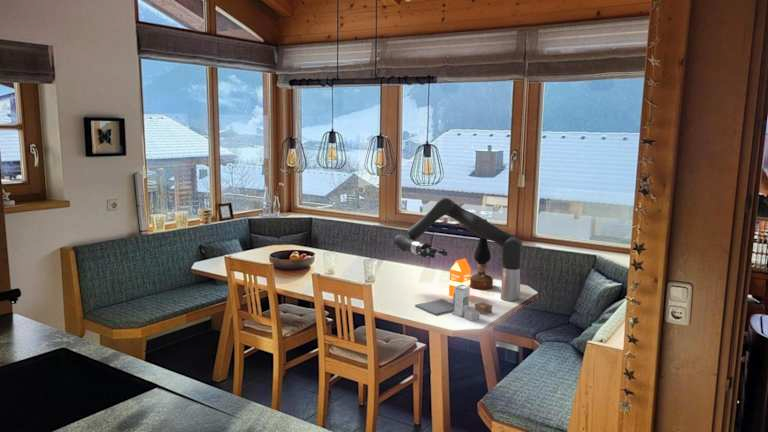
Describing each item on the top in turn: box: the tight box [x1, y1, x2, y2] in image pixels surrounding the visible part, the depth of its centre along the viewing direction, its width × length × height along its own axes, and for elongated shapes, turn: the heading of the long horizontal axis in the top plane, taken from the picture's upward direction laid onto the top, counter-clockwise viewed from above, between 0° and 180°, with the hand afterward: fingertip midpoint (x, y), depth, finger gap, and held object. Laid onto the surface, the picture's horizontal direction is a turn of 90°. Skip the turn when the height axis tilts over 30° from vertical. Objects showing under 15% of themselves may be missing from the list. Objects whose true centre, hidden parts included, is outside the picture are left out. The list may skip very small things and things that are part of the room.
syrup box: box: [451, 284, 471, 317], centre depth 292 cm, size 6×6×14 cm
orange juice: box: [448, 257, 472, 297], centre depth 323 cm, size 8×9×20 cm
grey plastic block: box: [463, 308, 480, 322], centre depth 286 cm, size 5×5×4 cm
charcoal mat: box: [414, 298, 453, 316], centre depth 302 cm, size 18×16×1 cm
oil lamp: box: [470, 218, 494, 291], centre depth 341 cm, size 14×15×40 cm
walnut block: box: [474, 301, 493, 315], centre depth 297 cm, size 6×6×4 cm
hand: (440, 255), depth 305 cm, fingers open, 8 cm apart
